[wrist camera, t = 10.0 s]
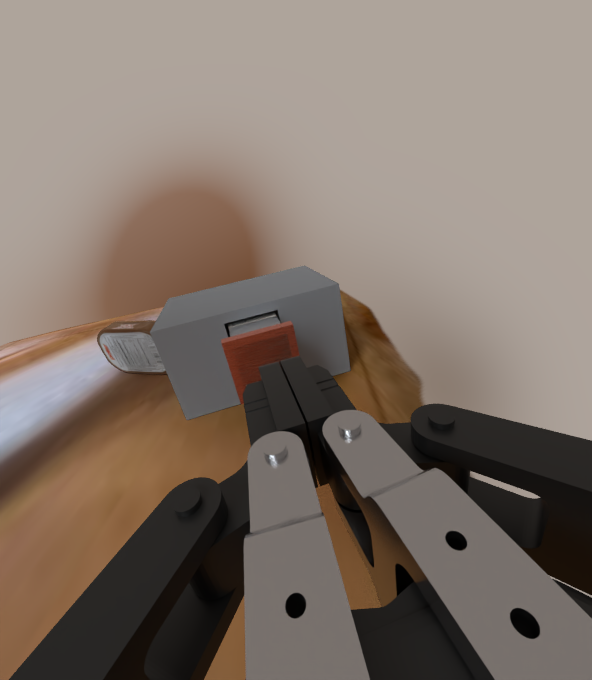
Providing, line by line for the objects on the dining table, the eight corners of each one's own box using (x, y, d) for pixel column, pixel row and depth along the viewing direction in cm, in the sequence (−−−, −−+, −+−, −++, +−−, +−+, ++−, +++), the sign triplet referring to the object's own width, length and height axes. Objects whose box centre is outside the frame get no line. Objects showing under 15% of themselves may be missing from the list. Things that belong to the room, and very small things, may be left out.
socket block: (350, 370, 38) (338, 283, 33) (186, 420, 35) (149, 332, 30) (316, 332, 50) (304, 265, 46) (194, 366, 48) (168, 298, 43)
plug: (305, 384, 30) (293, 324, 27) (240, 404, 29) (221, 343, 26) (276, 330, 44) (265, 287, 42) (232, 342, 43) (219, 298, 41)
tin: (192, 367, 47) (173, 316, 44) (178, 378, 45) (157, 325, 41) (124, 365, 54) (103, 320, 50) (109, 375, 51) (85, 328, 48)
